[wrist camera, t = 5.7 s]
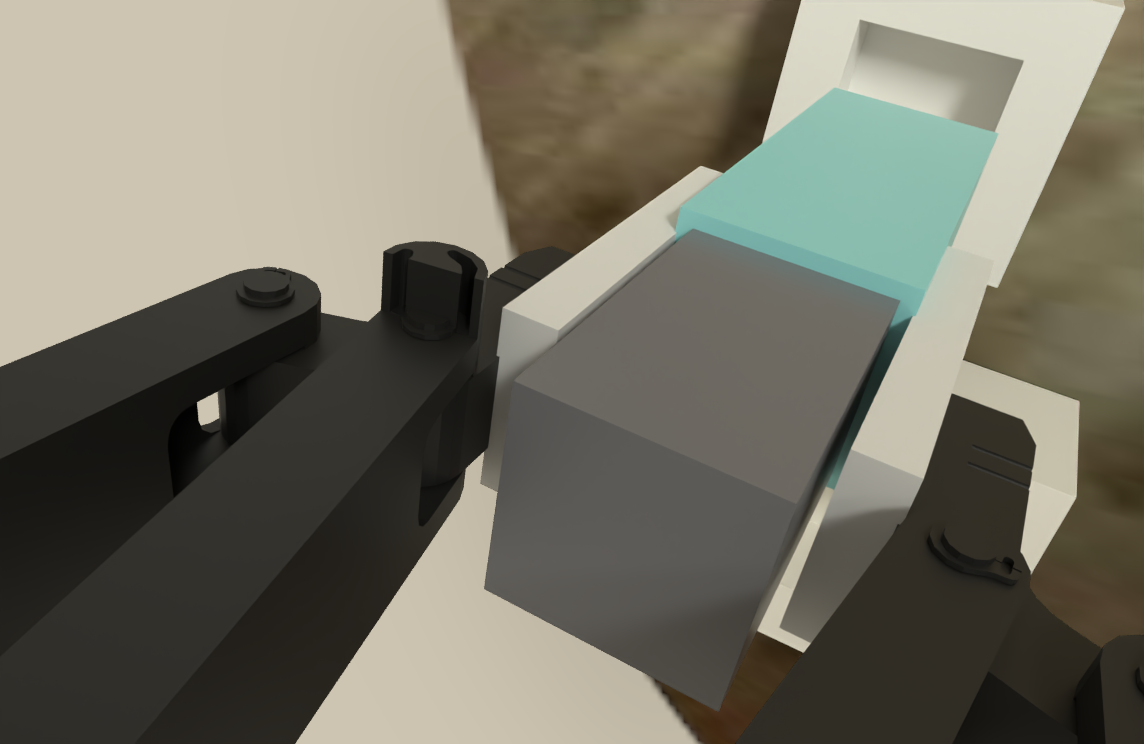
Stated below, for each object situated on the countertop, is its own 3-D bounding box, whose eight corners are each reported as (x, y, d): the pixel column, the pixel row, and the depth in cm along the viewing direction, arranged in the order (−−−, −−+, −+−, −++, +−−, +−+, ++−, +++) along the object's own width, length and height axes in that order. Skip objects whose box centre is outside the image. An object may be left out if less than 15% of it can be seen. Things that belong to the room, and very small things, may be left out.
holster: (841, -67, 28) (818, -61, 26) (1122, -5, 26) (1125, 8, 23) (770, 181, 32) (745, 205, 30) (1004, 255, 30) (997, 288, 28)
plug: (834, 87, 20) (495, 351, 9) (998, 133, 19) (832, 493, 8) (790, 233, 22) (464, 594, 11) (936, 283, 21) (734, 737, 10)
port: (793, 300, 34) (740, 373, 29) (1079, 401, 31) (1076, 502, 26) (726, 505, 39) (673, 597, 34) (964, 608, 36) (944, 726, 31)
